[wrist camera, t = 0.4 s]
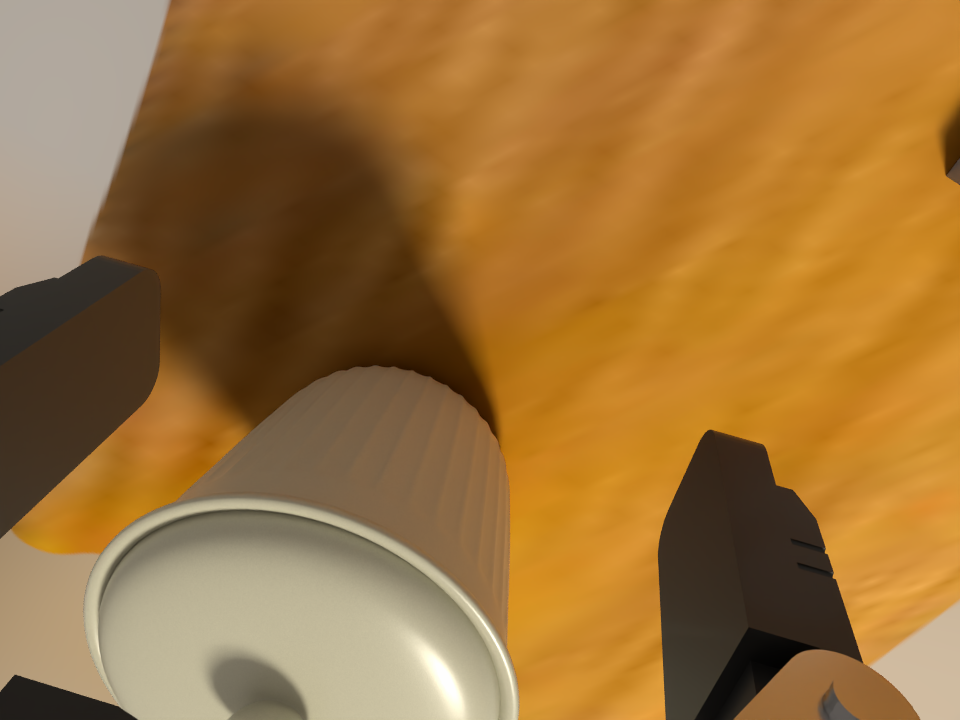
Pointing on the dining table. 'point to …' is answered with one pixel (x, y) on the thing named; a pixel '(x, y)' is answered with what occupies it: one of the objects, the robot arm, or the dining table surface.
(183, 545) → the canister
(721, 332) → the dining table surface
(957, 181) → the hole plate
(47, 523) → the dining table surface
